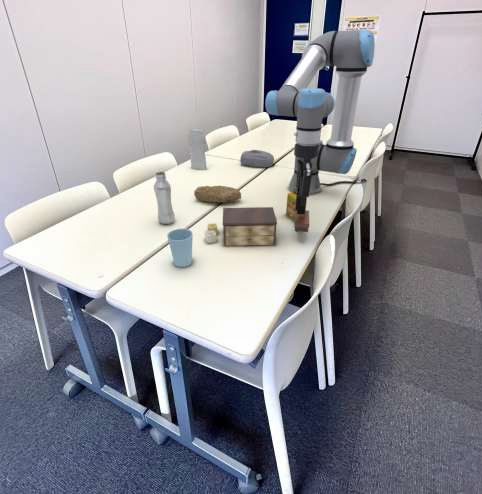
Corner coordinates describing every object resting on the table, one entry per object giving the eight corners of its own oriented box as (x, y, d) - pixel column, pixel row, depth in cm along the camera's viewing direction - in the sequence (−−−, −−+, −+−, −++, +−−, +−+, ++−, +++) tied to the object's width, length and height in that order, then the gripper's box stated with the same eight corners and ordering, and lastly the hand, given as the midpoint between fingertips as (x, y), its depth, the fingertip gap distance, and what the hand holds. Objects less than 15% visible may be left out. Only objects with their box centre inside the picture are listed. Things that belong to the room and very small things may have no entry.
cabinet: (271, 228, 123) (272, 207, 118) (276, 246, 111) (277, 223, 107) (223, 229, 123) (223, 207, 118) (223, 247, 111) (222, 224, 106)
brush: (308, 218, 120) (311, 184, 113) (308, 232, 110) (311, 196, 103) (294, 218, 120) (296, 183, 113) (293, 231, 111) (295, 195, 104)
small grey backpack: (238, 166, 190) (270, 170, 184) (237, 152, 185) (271, 155, 179) (246, 159, 202) (277, 162, 196) (246, 146, 197) (277, 148, 192)
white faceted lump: (204, 231, 114) (205, 239, 116) (207, 236, 111) (207, 244, 113) (214, 229, 115) (214, 237, 117) (217, 234, 113) (217, 242, 114)
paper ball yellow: (207, 223, 120) (207, 231, 121) (207, 228, 117) (208, 235, 118) (216, 222, 120) (216, 230, 122) (217, 227, 117) (217, 234, 119)
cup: (166, 261, 104) (162, 233, 98) (186, 253, 108) (183, 226, 102) (178, 272, 99) (175, 243, 93) (199, 263, 103) (197, 235, 98)
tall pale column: (189, 168, 187) (185, 129, 176) (192, 166, 190) (189, 127, 179) (205, 170, 184) (202, 130, 172) (208, 168, 187) (206, 129, 175)
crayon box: (285, 215, 133) (287, 188, 127) (291, 213, 134) (294, 187, 128) (294, 222, 127) (297, 195, 121) (301, 221, 128) (304, 193, 122)
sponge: (193, 204, 145) (229, 204, 135) (190, 187, 143) (228, 186, 133) (210, 200, 156) (245, 199, 146) (208, 183, 154) (244, 182, 144)
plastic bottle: (161, 227, 124) (154, 177, 114) (156, 220, 129) (149, 172, 119) (177, 223, 127) (171, 174, 116) (172, 217, 132) (166, 169, 121)
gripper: (291, 138, 107) (286, 203, 119) (299, 149, 94) (293, 221, 106) (313, 137, 107) (306, 202, 119) (325, 149, 94) (315, 221, 106)
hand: (299, 211), depth 113 cm, fingers closed on brush, 2 cm apart
